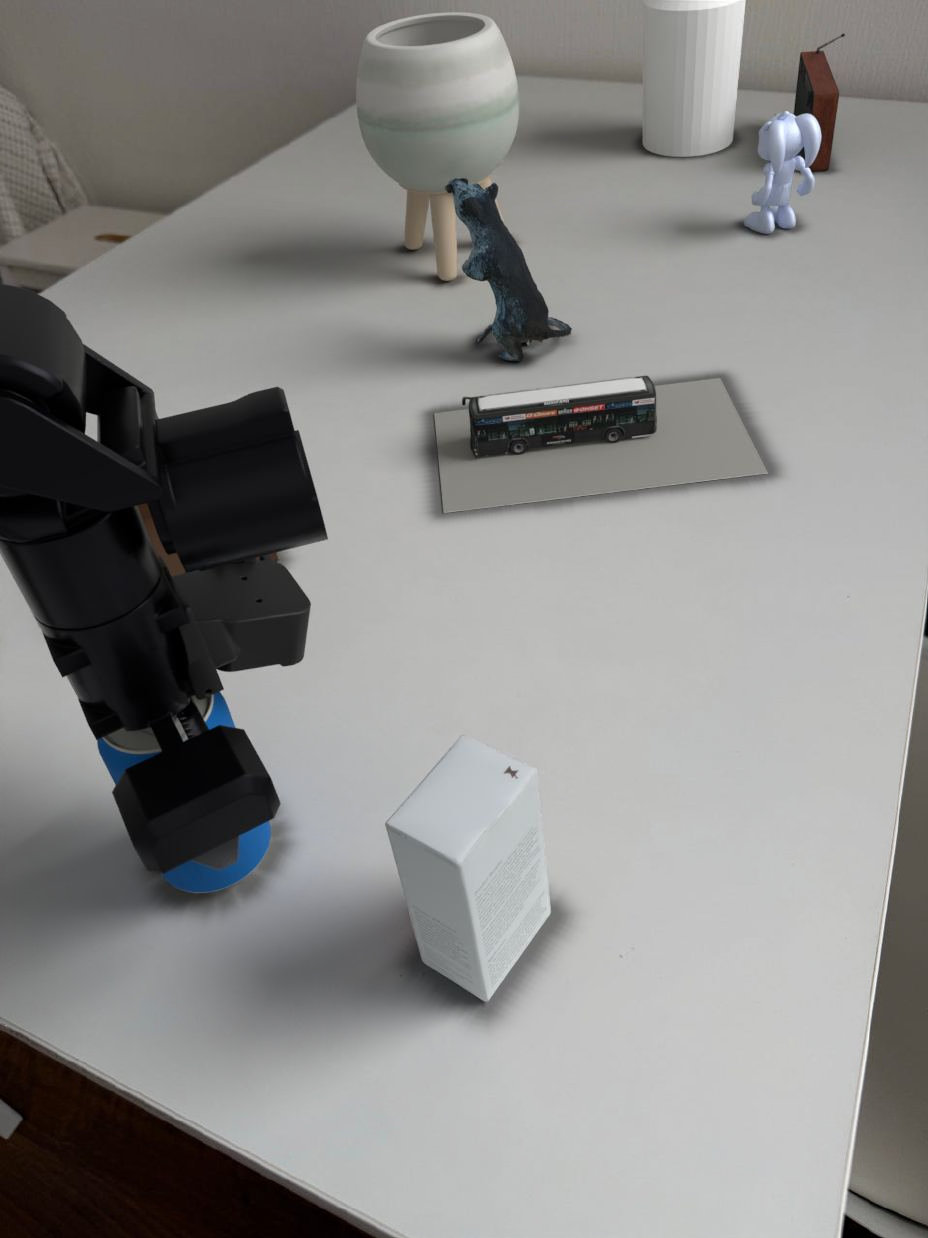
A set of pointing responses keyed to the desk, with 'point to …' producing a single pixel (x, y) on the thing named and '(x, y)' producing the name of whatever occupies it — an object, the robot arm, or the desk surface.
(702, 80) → the bottle
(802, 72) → the radio
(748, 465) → the model bus display
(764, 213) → the toy figurine
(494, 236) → the sculpture
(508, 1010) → the desk surface
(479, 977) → the cosmetic box
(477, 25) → the planter
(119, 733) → the beverage can
